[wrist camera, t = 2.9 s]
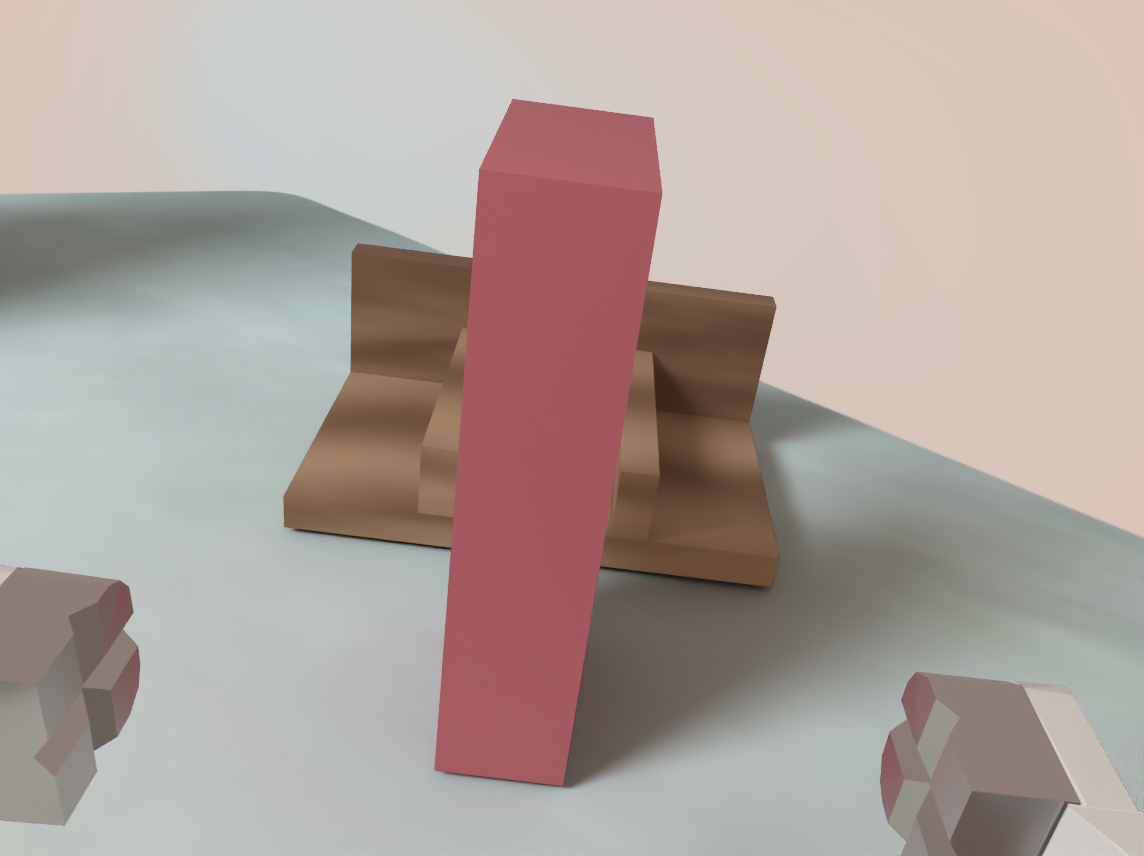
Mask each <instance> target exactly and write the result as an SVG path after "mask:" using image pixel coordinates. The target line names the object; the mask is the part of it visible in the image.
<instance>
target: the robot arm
mask: <svg viewBox="0 0 1144 856" xmlns="http://www.w3.org/2000/svg"><path fill="white" fill-rule="evenodd" d="M132 614H133V606H132V601H131V595H130V590H129V586H127V585H126V584H124V583H123V582H121V581H120V580H113V579H106V578H99V577H92V576H84V575H77V574H70V573H63V572H55V571H48V570H41V569H34V568H19V567H13V566H5V565H0V820H2V821H14V822H26V823H38V824H50V825H62V826H65V824H66V822H67V821H68V819H69V817H70V816H71V814H72V812H73V811H74V809H75V807H76V806H77V804H78V802H79V801H80V799H81V797H82V796H83V794H84V792H85V791H86V789H87V787H88V786H89V784H90V782H91V781H92V779H93V777H94V776H95V774H96V772H97V768H96V762H95V755H94V751H95V750H96V749H98V748H100V747H101V746H103V745H105V744H106V743H108V742H110V741H111V740H113V739H115V738H116V737H118V735H119V733H120V731H121V730H122V728H123V726H124V724H125V723H126V721H127V719H128V717H129V715H130V713H131V710H132V706H133V703H134V700H135V697H136V693H137V690H138V687H139V674H140V659H139V650H138V646H137V644H136V643H135V642H134V641H133V640H132V639H131V638H130V637H129V636H128V635H127V634H126V632H125V631H124V630H123V628H124V626H125V625H126V623H127V622H128V620H129V619H130V617H131V616H132ZM901 701H902V704H903V707H904V710H905V713H906V716H907V720H906V721H904V722H903V723H901V724H900V725H898V726H897V727H896V728H894V729H893V730H891V731H890V732H889V736H888V739H887V742H886V745H885V748H884V751H883V755H882V765H881V778H880V784H881V793H882V802H883V806H884V810H885V814H886V817H887V821H888V824H889V825H890V826H891V827H892V828H893V829H894V830H895V831H896V832H897V833H898V834H899V835H900V836H901V837H902V838H903V839H904V840H905V841H906V844H905V846H904V849H903V851H902V854H901V856H1144V813H1143V812H1139V811H1138V809H1137V807H1136V806H1135V804H1134V802H1133V800H1132V799H1131V797H1130V795H1129V793H1128V791H1127V790H1126V788H1125V786H1124V784H1123V783H1122V781H1121V779H1120V777H1119V775H1118V774H1117V772H1116V770H1115V768H1114V767H1113V765H1112V763H1111V761H1110V759H1109V758H1108V756H1107V754H1106V752H1105V751H1104V749H1103V747H1102V745H1101V744H1100V742H1099V740H1098V738H1097V736H1096V735H1095V733H1094V731H1093V729H1092V728H1091V726H1090V724H1089V722H1088V720H1087V719H1086V717H1085V715H1084V713H1083V712H1082V710H1081V708H1080V706H1079V704H1078V703H1077V701H1076V699H1075V697H1074V696H1073V694H1072V693H1071V692H1070V691H1068V690H1067V689H1066V688H1064V687H1063V686H1060V685H1049V684H1038V683H1028V682H1017V681H1013V682H1007V681H997V680H988V679H979V678H970V677H960V676H951V675H942V674H933V673H923V672H916V673H915V674H914V675H913V677H912V678H911V679H910V680H909V681H908V683H907V686H906V689H905V691H904V694H903V697H902V699H901Z"/></svg>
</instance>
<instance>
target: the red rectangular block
mask: <svg viewBox="0 0 1144 856" xmlns="http://www.w3.org/2000/svg"><path fill="white" fill-rule="evenodd" d="M661 198H662V187H661V178H660V170H659V161H658V153H657V145H656V136H655V128H654V119H653V118H651V117H643V116H636V115H629V114H621V113H613V112H606V111H599V110H591V109H583V108H576V107H568V106H561V105H554V104H546V103H538V102H531V101H523V100H516V99H513V100H512V102H511V104H510V106H509V108H508V110H507V113H506V114H505V116H504V119H503V121H502V123H501V125H500V127H499V129H498V131H497V133H496V136H495V137H494V140H493V142H492V144H491V146H490V148H489V150H488V152H487V154H486V156H485V158H484V161H483V163H482V165H481V167H480V169H479V181H478V194H477V207H476V222H475V234H474V249H473V261H472V274H471V288H470V301H469V315H468V328H467V342H466V355H465V368H464V382H463V395H462V409H461V422H460V436H459V449H458V462H457V476H456V489H455V503H454V516H453V530H452V543H451V557H450V570H449V583H448V597H447V610H446V624H445V637H444V651H443V664H442V677H441V691H440V704H439V718H438V731H437V745H436V758H435V771H441V772H450V773H458V774H466V775H475V776H483V777H491V778H500V779H508V780H516V781H525V782H533V783H541V784H550V785H558V786H563V784H564V778H565V772H566V766H567V760H568V754H569V748H570V742H571V736H572V730H573V724H574V718H575V712H576V706H577V700H578V694H579V688H580V682H581V676H582V670H583V664H584V658H585V652H586V646H587V640H588V634H589V628H590V622H591V616H592V610H593V605H594V599H595V593H596V587H597V581H598V575H599V569H600V563H601V557H602V551H603V545H604V539H605V533H606V527H607V521H608V515H609V509H610V503H611V497H612V491H613V485H614V479H615V473H616V467H617V461H618V455H619V449H620V443H621V437H622V431H623V425H624V419H625V413H626V407H627V401H628V395H629V390H630V384H631V378H632V372H633V366H634V360H635V354H636V348H637V342H638V336H639V330H640V324H641V318H642V312H643V306H644V300H645V294H646V288H647V282H648V276H649V270H650V264H651V258H652V252H653V246H654V240H655V234H656V228H657V221H658V216H659V210H660V204H661Z"/></svg>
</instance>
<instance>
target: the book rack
mask: <svg viewBox="0 0 1144 856" xmlns="http://www.w3.org/2000/svg"><path fill="white" fill-rule="evenodd" d="M472 261H473V258H467V257H460V256H451V255H444V254H436V253H429V252H421V251H413V250H405V249H398V248H390V247H382V246H374V245H367V244H359V243H358V244H357V246H356V247H355V249H354V250H353V251H352V292H351V372H350V374H349V376H348V378H347V380H346V381H345V383H344V385H343V387H342V389H341V391H340V393H339V394H338V396H337V398H336V400H335V402H334V404H333V405H332V407H331V409H330V411H329V413H328V415H327V417H326V418H325V420H324V422H323V424H322V426H321V428H320V430H319V431H318V433H317V435H316V437H315V439H314V441H313V443H312V444H311V446H310V448H309V450H308V452H307V454H306V456H305V457H304V459H303V461H302V463H301V465H300V467H299V469H298V470H297V472H296V474H295V476H294V478H293V480H292V482H291V483H290V485H289V487H288V489H287V491H286V493H285V494H284V496H283V497H284V527H288V528H296V529H304V530H312V531H320V532H328V533H337V534H345V535H353V536H361V537H369V538H377V539H385V540H393V541H401V542H410V543H418V544H426V545H434V546H442V547H450V548H451V543H452V530H453V516H454V503H455V489H456V476H457V462H458V449H459V436H460V422H461V409H462V395H463V382H464V368H465V355H466V342H467V328H468V315H469V301H470V288H471V274H472ZM775 311H776V304H775V301H774V298H773V297H770V296H762V295H754V294H746V293H739V292H731V291H723V290H715V289H707V288H700V287H691V286H684V285H677V284H668V283H661V282H653V281H648V282H647V288H646V294H645V300H644V306H643V312H642V318H641V324H640V330H639V336H638V342H637V348H636V354H635V360H634V366H633V372H632V378H631V384H630V390H629V395H628V401H627V407H626V413H625V419H624V425H623V431H622V437H621V443H620V449H619V455H618V461H617V467H616V473H615V479H614V485H613V491H612V497H611V503H610V509H609V515H608V521H607V527H606V533H605V539H604V545H603V551H602V557H601V563H600V566H604V567H612V568H620V569H628V570H636V571H645V572H653V573H661V574H669V575H677V576H685V577H693V578H701V579H709V580H718V581H726V582H734V583H742V584H750V585H758V586H766V587H772V584H773V580H774V577H775V573H776V570H777V566H778V562H779V559H780V557H779V552H778V548H777V544H776V539H775V535H774V530H773V526H772V521H771V517H770V513H769V508H768V504H767V499H766V495H765V490H764V486H763V482H762V477H761V473H760V468H759V464H758V459H757V455H756V451H755V446H754V442H753V437H752V433H751V428H750V424H749V420H750V416H751V412H752V408H753V404H754V399H755V395H756V391H757V387H758V383H759V378H760V374H761V369H762V365H763V361H764V357H765V353H766V349H767V344H768V340H769V336H770V331H771V328H772V324H773V319H774V315H775Z"/></svg>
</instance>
